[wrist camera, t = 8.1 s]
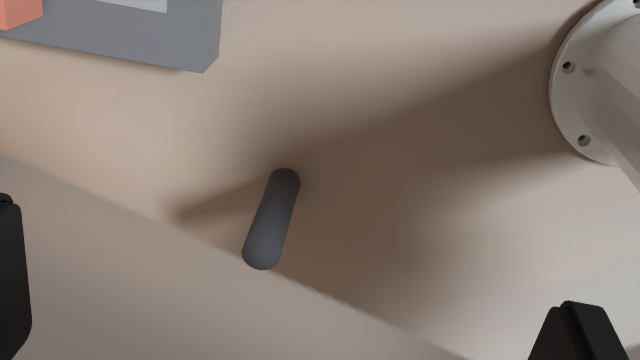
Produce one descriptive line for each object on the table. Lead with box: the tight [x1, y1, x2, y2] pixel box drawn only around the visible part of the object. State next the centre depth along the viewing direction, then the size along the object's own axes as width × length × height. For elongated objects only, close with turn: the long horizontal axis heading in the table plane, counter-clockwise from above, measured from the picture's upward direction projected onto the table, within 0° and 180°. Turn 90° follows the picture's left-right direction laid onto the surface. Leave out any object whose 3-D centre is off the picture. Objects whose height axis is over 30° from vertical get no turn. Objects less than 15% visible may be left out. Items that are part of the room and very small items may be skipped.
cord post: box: [242, 169, 300, 270], centre depth 41 cm, size 2×2×10 cm
